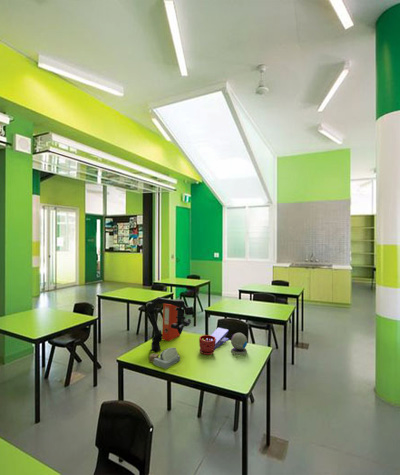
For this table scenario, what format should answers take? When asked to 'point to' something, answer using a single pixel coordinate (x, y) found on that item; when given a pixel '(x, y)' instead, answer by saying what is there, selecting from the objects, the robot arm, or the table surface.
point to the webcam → (239, 344)
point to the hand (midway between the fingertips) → (180, 334)
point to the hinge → (168, 354)
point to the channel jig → (166, 364)
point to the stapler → (219, 336)
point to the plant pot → (207, 344)
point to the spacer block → (153, 357)
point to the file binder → (169, 322)
